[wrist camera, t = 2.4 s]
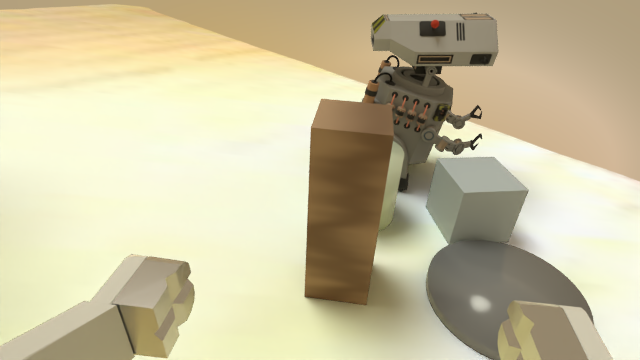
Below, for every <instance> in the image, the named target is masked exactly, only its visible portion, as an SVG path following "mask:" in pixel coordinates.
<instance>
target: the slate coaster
mask: <svg viewBox="0 0 640 360" xmlns="http://www.w3.org/2000/svg"><path fill="white" fill-rule="evenodd" d="M426 290H427V295H428V298H429V301H430V303H431V306H432V307H433V309H434V311H435V313H436V314H437V316H438V317H439V319H440V320H441V321H442V323H443V324H444V325H445V326H446V327H447V328H448V329H449V330H450V331H451V332H452V333H453V334H454V335H455V336H456V337H457V338H459V339H460V340H461V341H462V342H464V343H465V344H466V345H468V346H469V347H471V348H473V349H474V350H476V351H477V352H479V353H481V354H483V355H485V356H487V357H489V358H491V359H493V360H501V359H500V355H499V351H498V332H499V329H500V326H501V324H502V322H504V321H506V320H508V319H509V316H508V313H507V309H508V307H509V305H510V303H511V302H512V301H514V300H517V301H526V302H536V303H545V304H554V305H563V306H572V307H581V308H582V309H583V310H585V311H586V313H587V314H588V316H589V318H590V320H591V321H592V323H593V316H592V313H591V310H590V308H589V306H588V304H587V301H586V300H585V298H584V297H583V295H582V294H581V292H580V291H579V290H578V289H577V287H576V286H575V285H574V284H573V283H572V282H571V281H570V280H569V279H568V278H567V277H566V276H565V275H564V274H563V273H561V272H560V271H559V270H558V269H556V268H555V267H553V266H552V265H551V264H549V263H547V262H546V261H544V260H543V259H541V258H539V257H537V256H535V255H533V254H531V253H529V252H527V251H525V250H522V249H520V248H517V247H514V246H511V245H508V244H504V243H499V242H494V241H487V240H466V241H460V242H456V243H453V244H450V245H448V246H446V247H444V248H443V249H441V250H440V251H439V252H438V253H437V254H436V255H435V256H434V258H433V259H432V261H431V263H430V266H429V269H428V273H427V278H426ZM593 325H594V323H593Z"/></svg>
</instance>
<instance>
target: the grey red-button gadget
mask: <svg viewBox="0 0 640 360" xmlns="http://www.w3.org/2000/svg"><path fill="white" fill-rule="evenodd" d="M496 22H497V21H496V19H494V18H493V17H491V16H490V15H488V14H477V13H473V14H410V15H409V14H408V15H407V14H404V15H403V14H399V15H382V16H381V17H380V18H378V19H377V20H376V21H375V22H373V23H372V25H371V42H372V47H373V51H390V52H392V53H393V54H395V55H397V56H398V57H399V58H401V59H402V60H404V61H406V62H407V63H409V64H410V65H412V67H413V68H412V67H399V60H398V58H397V57H396V56H394V55H392V56H389V57H388V59H387V60H384V61H382V63H381V66H380V68H379V71H378V72H379V73H378V76H377V77H376V78H375V80H370V81H369V83H368V86H367V88H366V91H365V96H364V98H363V100H362V103H372V104H383V105H392V116H393V130H394V138H393V141H394V142H396V143H397V144H398V145H400V146H401V148H402V149H403V151H404V160H403V165H402V171H401V176H400V182H399V187H398V191H403V189H406V190H407V186H408V174H407V169H408V164H417V163H425V162H426V160H427V158H428V155H429V153H430V151H431V149H432V146H433V144H436V145H435V148H436V149H437V150H439V151H440V152H443V151H444V149H445V150H446V151H451V152H453V154H454V155H458V154H460V153H461V152H462V151H463V150H464V148H467V147H471V149H472V150H474V149H475V148H476V146H477V145H478V144H476V145H475V146H474V147H473V144H474V143H475V141H476V140H477V139H478V138H479V137H480V138H481V139H482V135H481V133H480V134H479V135H478V136H477V137H476V138H475V139H474V140H473V141H472V140H471V141H468V142H462V141H461V139H455V140H454V141H452V140H450V139H449V138H448V137H446V136H442V137H440V136H439V135H438V133H439V131H440V129H441V126H442V124H443V122H444V121H445V119H446V121H447V122H448V123H451V124H452V125H453V127H454V128H456V129H461V128H463V127H464V125H465V121H467V120H469V119H470V117H472V118H479V119H481V115H482V112H481V114H480V116H477V115H474V113H475V111H476V110H477V109H478V108H479V109H480V107H479V106H478V105H477V106H476V108H475V109H474V110H473V111H472V112H471V113H470V114H467V115H465V116H463V117H461V116H459V115H454V114H453V113H452V112H451V111H450V110H451V106H452V98H453V88H452V87H450V86H448V85H447V84H446V83H445V82H444V81H443V80H442V79H441V78H439V77H437V76H436V75H435V74H441V69H442V66H493V64H494V61H495V59H496V56H497V54H498V39H497V23H496ZM391 57H394V58H396V59H397V62H398V65H397V67H390V65H391V63H390V62H389V61H388V60H389V59H390V58H391ZM480 110H481V109H480Z"/></svg>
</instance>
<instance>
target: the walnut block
mask: <svg viewBox="0 0 640 360" xmlns="http://www.w3.org/2000/svg"><path fill="white" fill-rule="evenodd" d="M393 138H394V130H393V116H392V105H383V104H372V103H362V102H351V101H340V100H329V99H321V101H320V104H319V107H318V110H317V112H316V115H315V118H314V121H313V124H312V126H311V142H310V169H309V195H308V221H307V248H306V274H305V297H311V298H319V299H326V300H334V301H341V302H348V303H356V304H363V305H366V303H367V297H368V291H369V285H370V279H371V272H372V266H373V260H374V254H375V248H376V242H377V236H378V230H379V224H380V217H381V211H382V205H383V199H384V193H385V187H386V181H387V175H388V169H389V163H390V156H391V150H392V144H393Z"/></svg>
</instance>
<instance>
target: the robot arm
mask: <svg viewBox="0 0 640 360" xmlns="http://www.w3.org/2000/svg"><path fill="white" fill-rule="evenodd" d="M190 273H191V270H190V266H189V263H187V262H184V261H178V260H171V259H164V258H157V257H148V256H141V255H134V254H131V255H129V256H128V257H126V258H125V259H124V260H123V261H122V263H121V264H120V265H119V266H118V268H117V269H116V270H115V271H114V273H113V274H112V275H111V276H110V277H109V279H108V280H107V281H106V282H105V284H104V285H103V286H102V287H101V289H100V290H99V291H98V292H97V293H96V295H95V296H94V297H93V298H92V300H91V301H83V302H81V303H79V304H78V305H76V306H74V307H72V308H70V309H68V310H66V311H65V312H63V313H61V314H59V315H57V316H55V317H53V318H52V319H50V320H48V321H46V322H44V323H42V324H40V325H38V326H37V327H35V328H33V329H31V330H29V331H27V332H25V333H24V334H22V335H20V336H18V337H16V338H14V339H12V340H10V341H9V342H7V343H5V344H3V345H1V346H0V360H131V359H132V358H134V357H135V356H134V355H142V356H151V357H160V358H168V356H169V354H170V352H171V351H172V349H173V347H174V345H175V343H176V341H177V339H178V337H179V332H178V326H180V325H181V324H183V323H184V322H185V321H187V319H188V317H189V315H190V313H191V311H192V307H193V303H194V296H195V291H194V285H193V284H192V283H191V282H190V281H189V280H188V277H189V275H190ZM507 313H508V316H509V319H508V320H506V321H504V322H502V324H501V326H500V329H499V332H498V351H499V355H500V359H501V360H613V358H612V357H611V355H610V353H609V351H608V350H607V348H606V346H605V344H604V343H603V341H602V339H601V337H600V336H599V334H598V332H597V330H596V328H595V327H594V325H593V323H592V321H591V320H590V318H589V316H588V314H587V313H586V311H585V310H583V309H582V308H581V307H572V306H563V305H554V304H545V303H536V302H526V301H517V300H514V301H512V302H511V303H510V305H509V307H508V309H507Z"/></svg>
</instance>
